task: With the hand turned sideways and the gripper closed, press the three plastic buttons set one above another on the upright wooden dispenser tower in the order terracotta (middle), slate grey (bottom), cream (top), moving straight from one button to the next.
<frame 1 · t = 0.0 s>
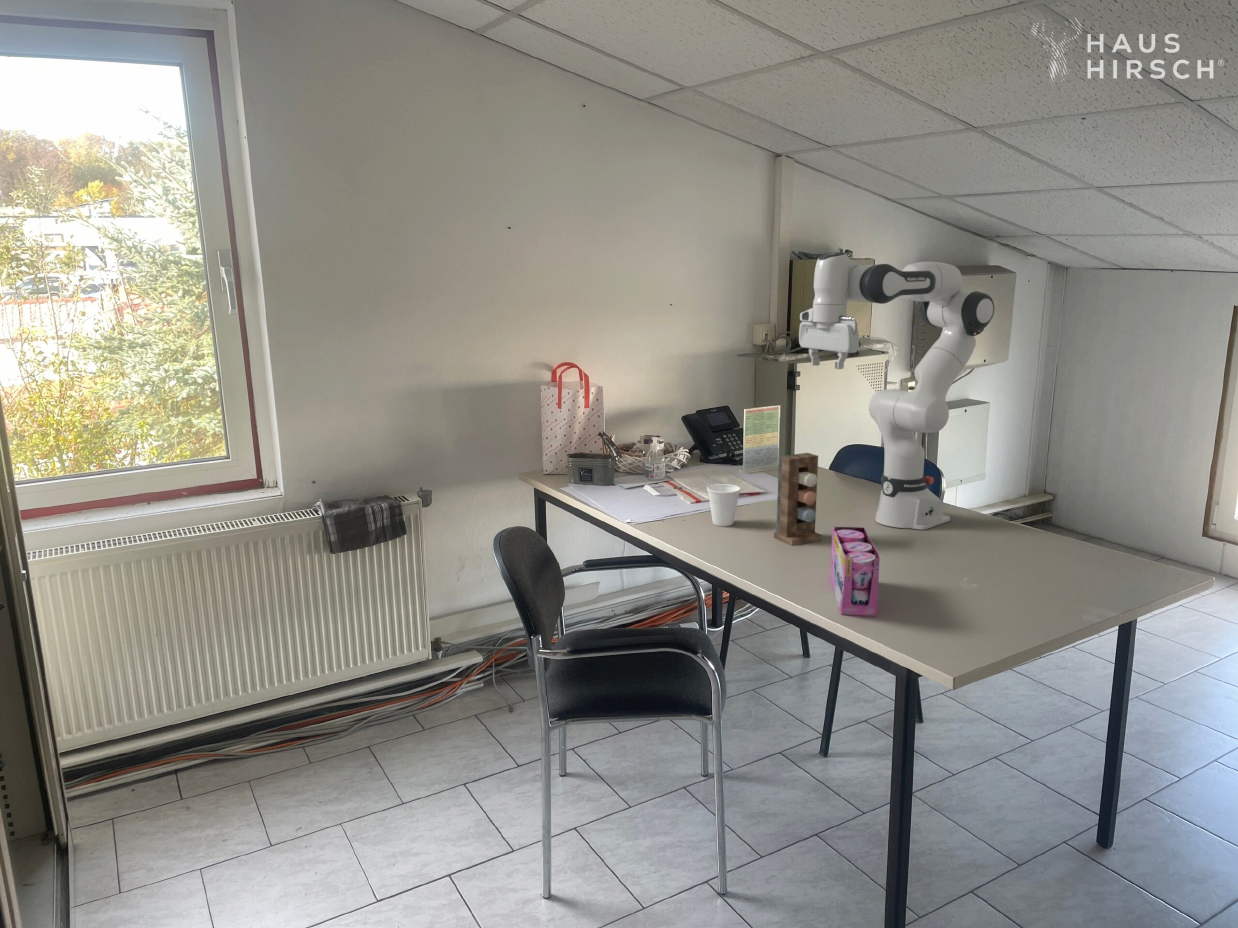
hand: (827, 367, 232), 48 cm above the table, tool pointing down, fingers open, 8 cm apart
cup: (723, 524, 256), on the table
wooden dispenser tower: (797, 538, 242), on the table
terracotta button: (806, 496, 236), point 13 cm above the table, slide at 0.0 cm
cream button: (806, 478, 235), point 18 cm above the table, slide at 0.0 cm
gum box: (852, 597, 200), on the table
slate button: (805, 514, 237), point 8 cm above the table, slide at 0.0 cm
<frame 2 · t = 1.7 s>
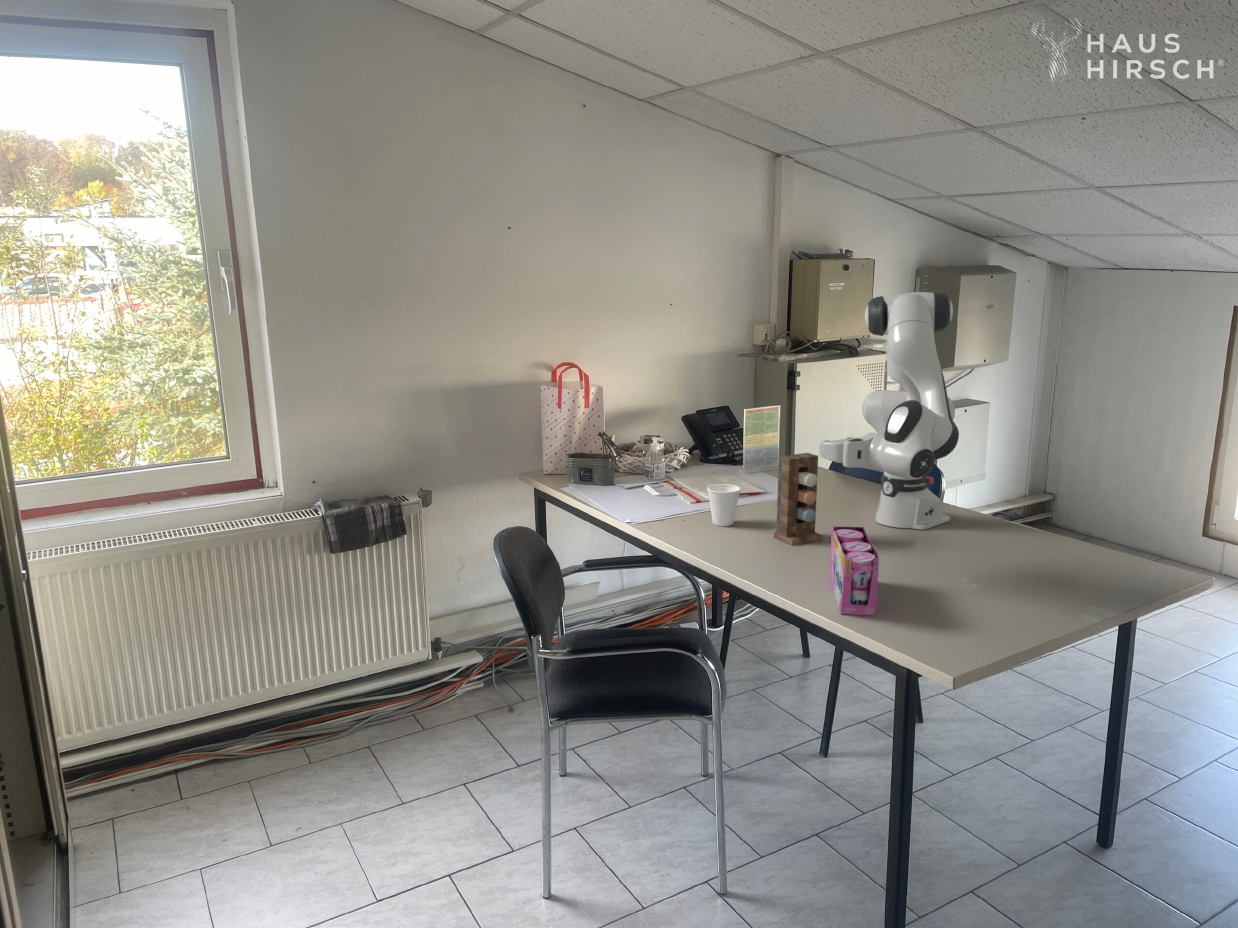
hand: (836, 441, 223), 30 cm above the table, tool horizontal, fingers open, 7 cm apart
nothing on the table moved.
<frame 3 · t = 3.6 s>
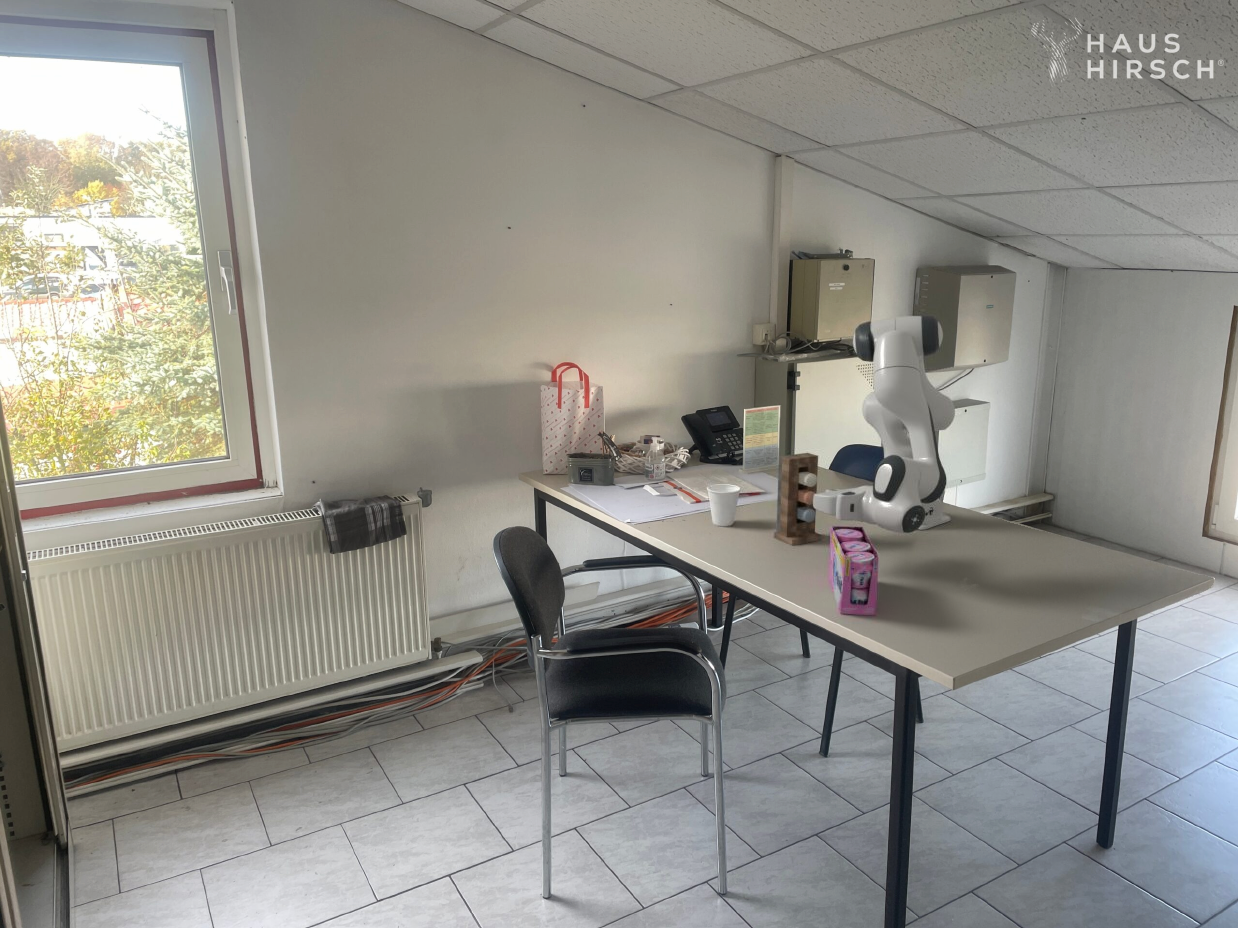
hand: (829, 491, 227), 16 cm above the table, tool horizontal, fingers closed
nothing on the table moved.
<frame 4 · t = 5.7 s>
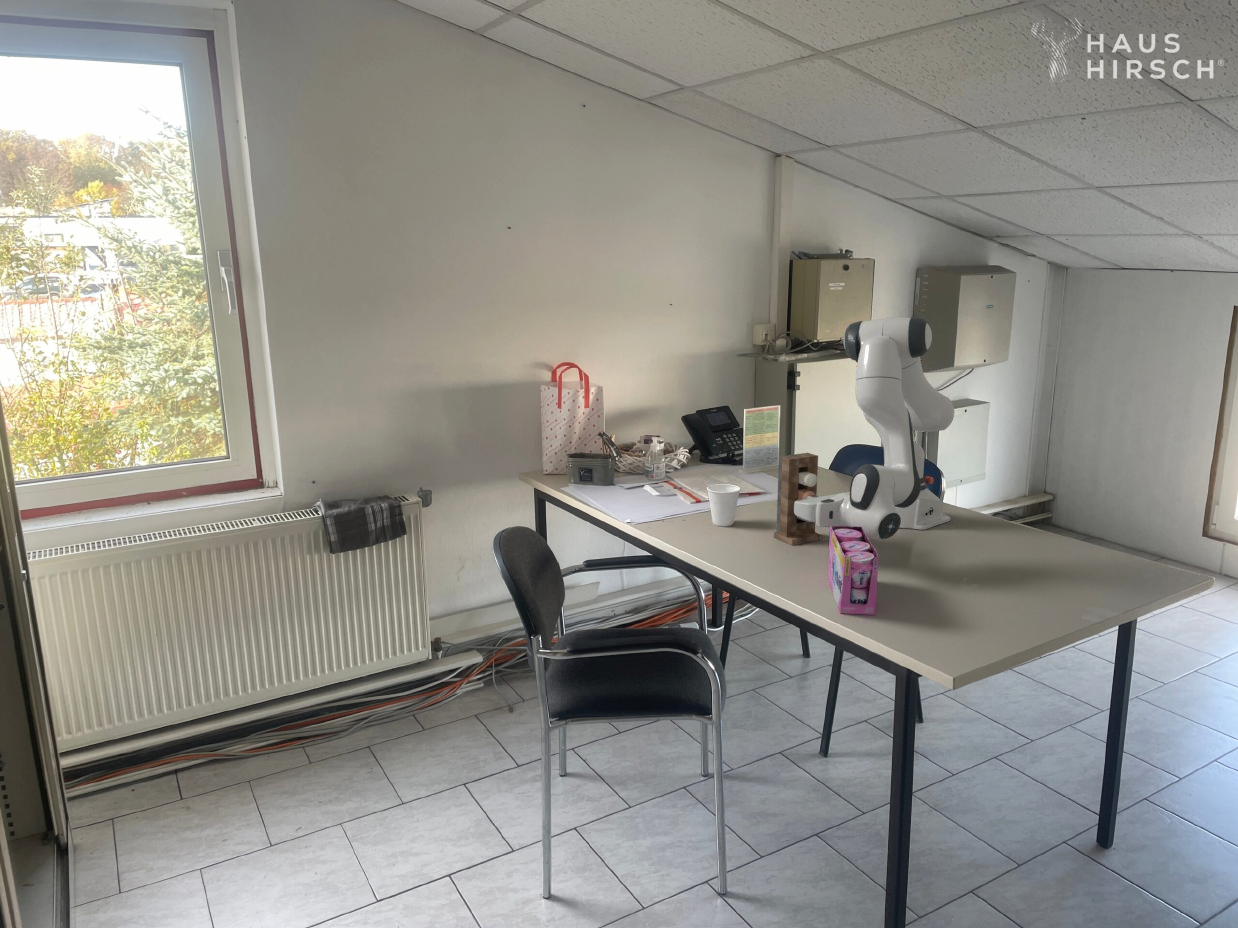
hand: (810, 498, 235), 13 cm above the table, tool horizontal, fingers closed, pressing on terracotta button
terracotta button: (805, 496, 236), point 13 cm above the table, slide at 0.4 cm, touching gripper
everything else where it was.
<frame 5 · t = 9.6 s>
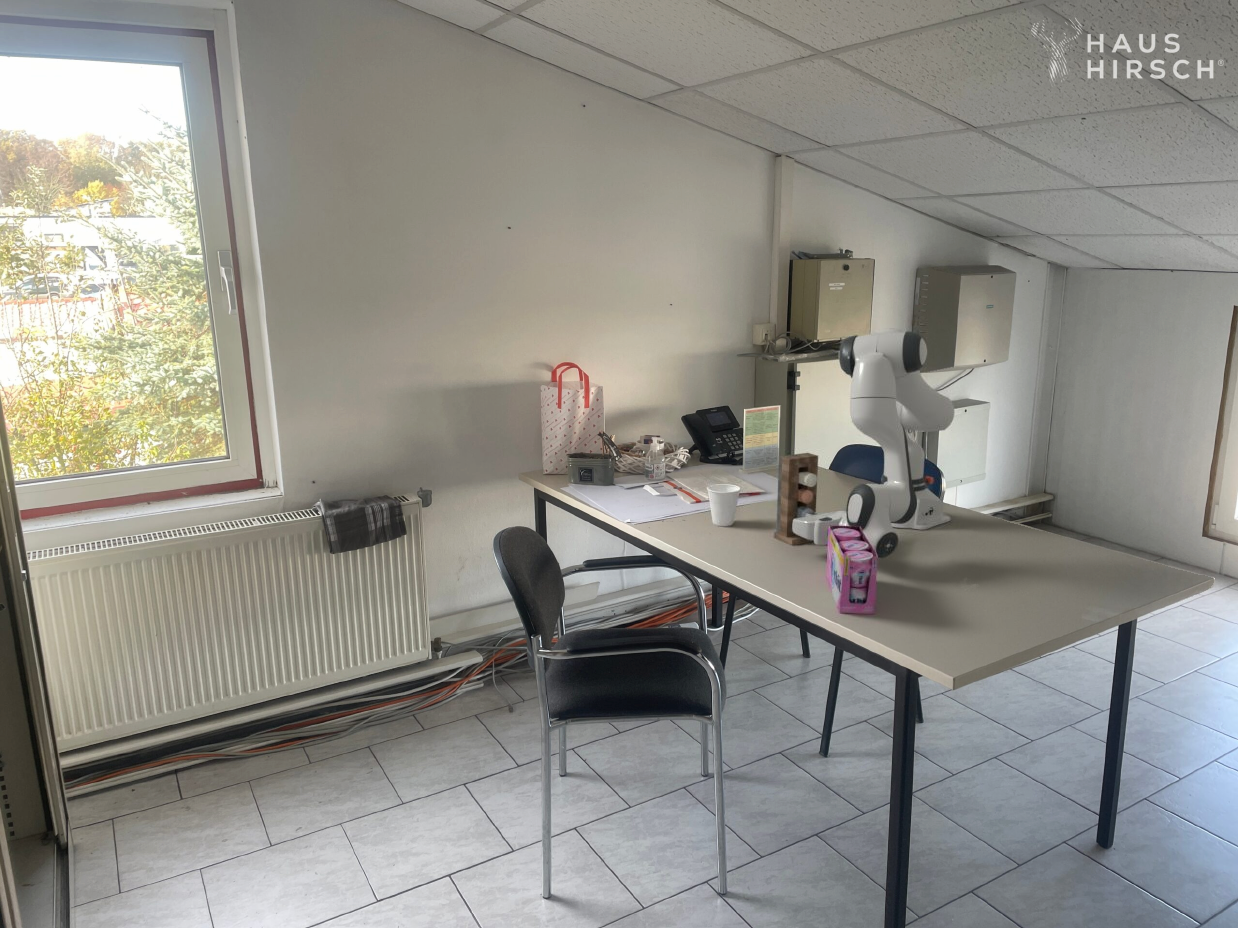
hand: (809, 515, 236), 8 cm above the table, tool horizontal, fingers closed, pressing on slate button
terracotta button: (803, 495, 237), point 13 cm above the table, slide at 1.4 cm
slate button: (803, 513, 238), point 8 cm above the table, slide at 0.7 cm, touching gripper
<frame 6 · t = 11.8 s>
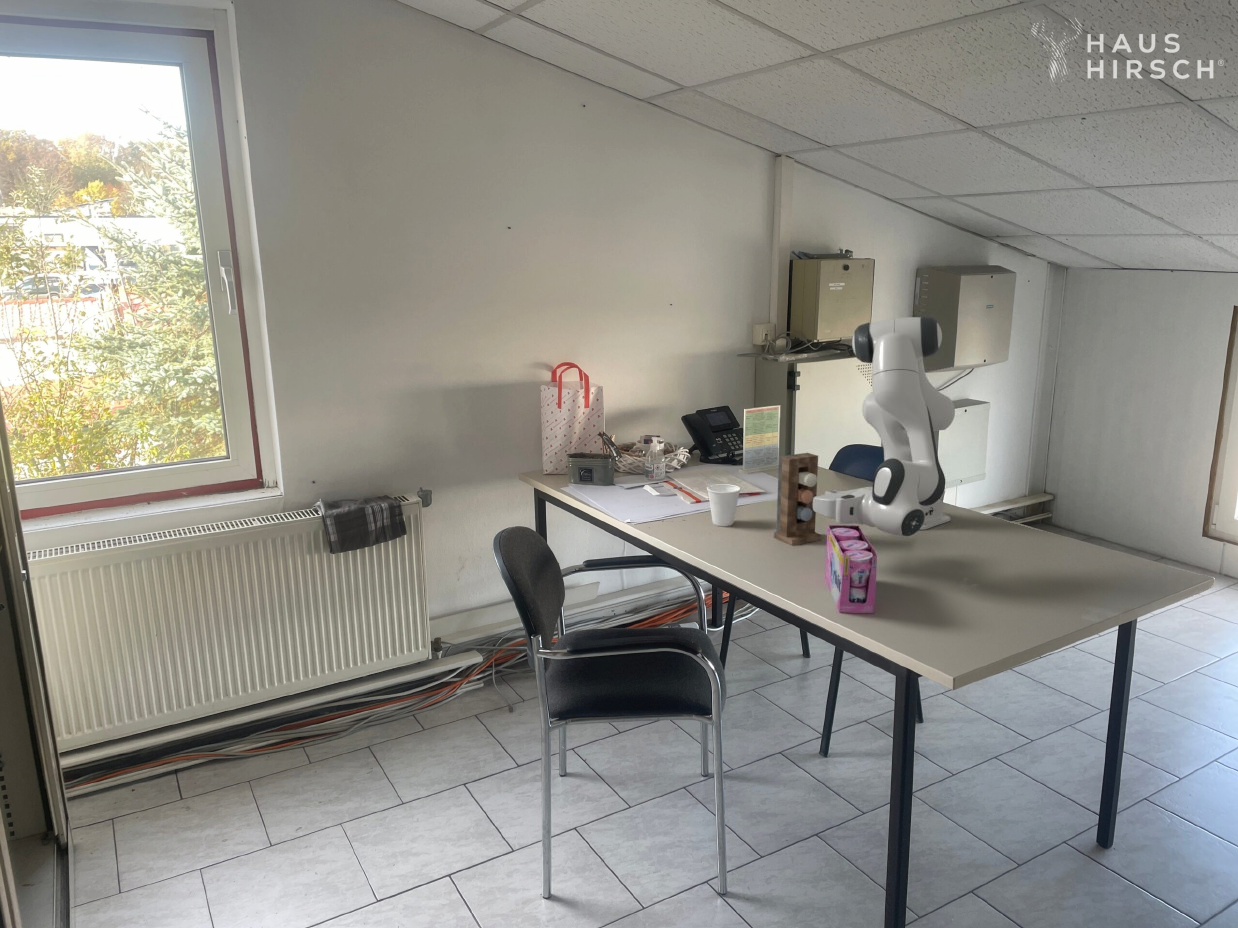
hand: (829, 493, 228), 16 cm above the table, tool horizontal, fingers closed
slate button: (802, 512, 238), point 8 cm above the table, slide at 1.4 cm
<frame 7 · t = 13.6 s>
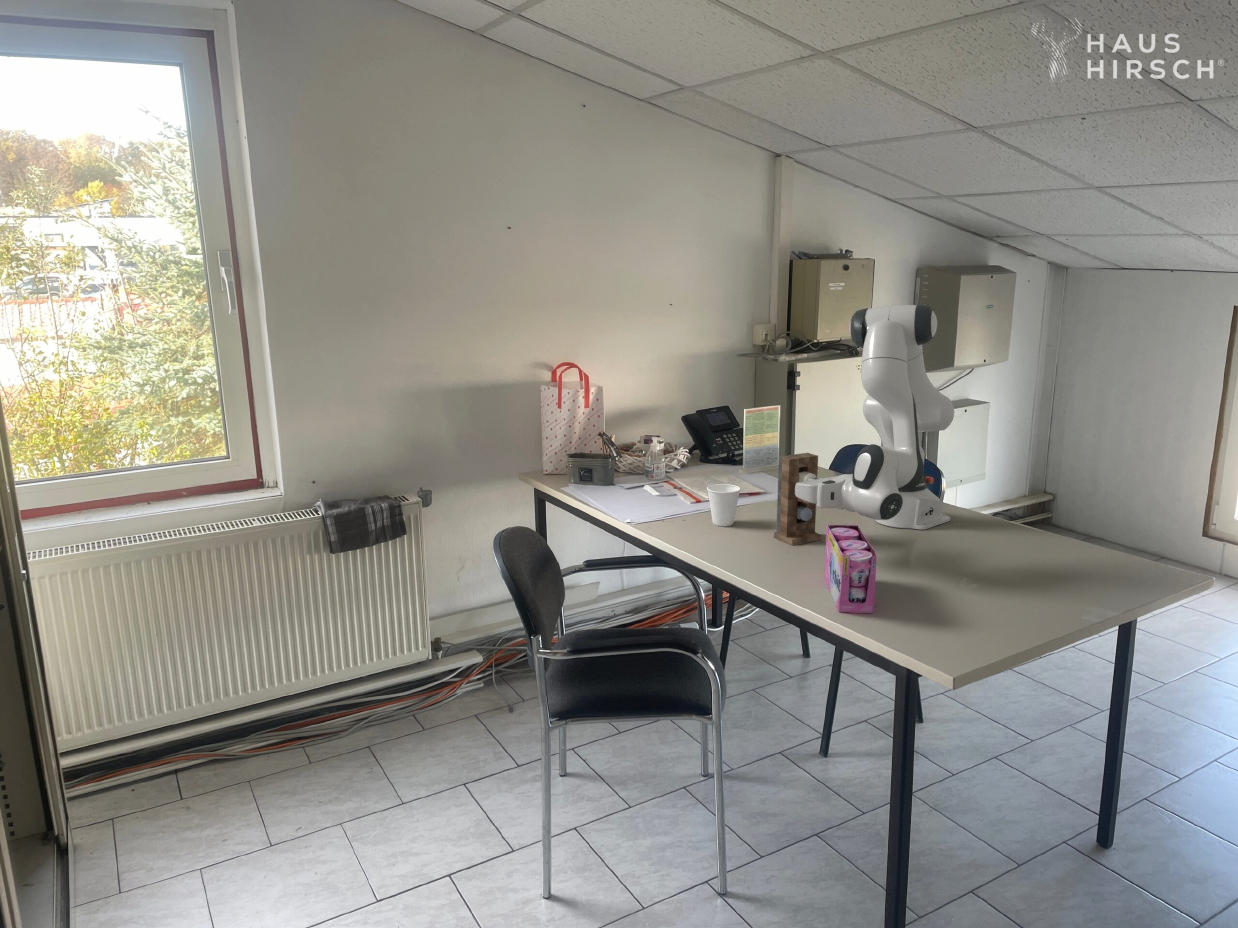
hand: (811, 480, 233), 18 cm above the table, tool horizontal, fingers closed, pressing on cream button
cream button: (806, 478, 235), point 18 cm above the table, slide at 0.2 cm, touching gripper
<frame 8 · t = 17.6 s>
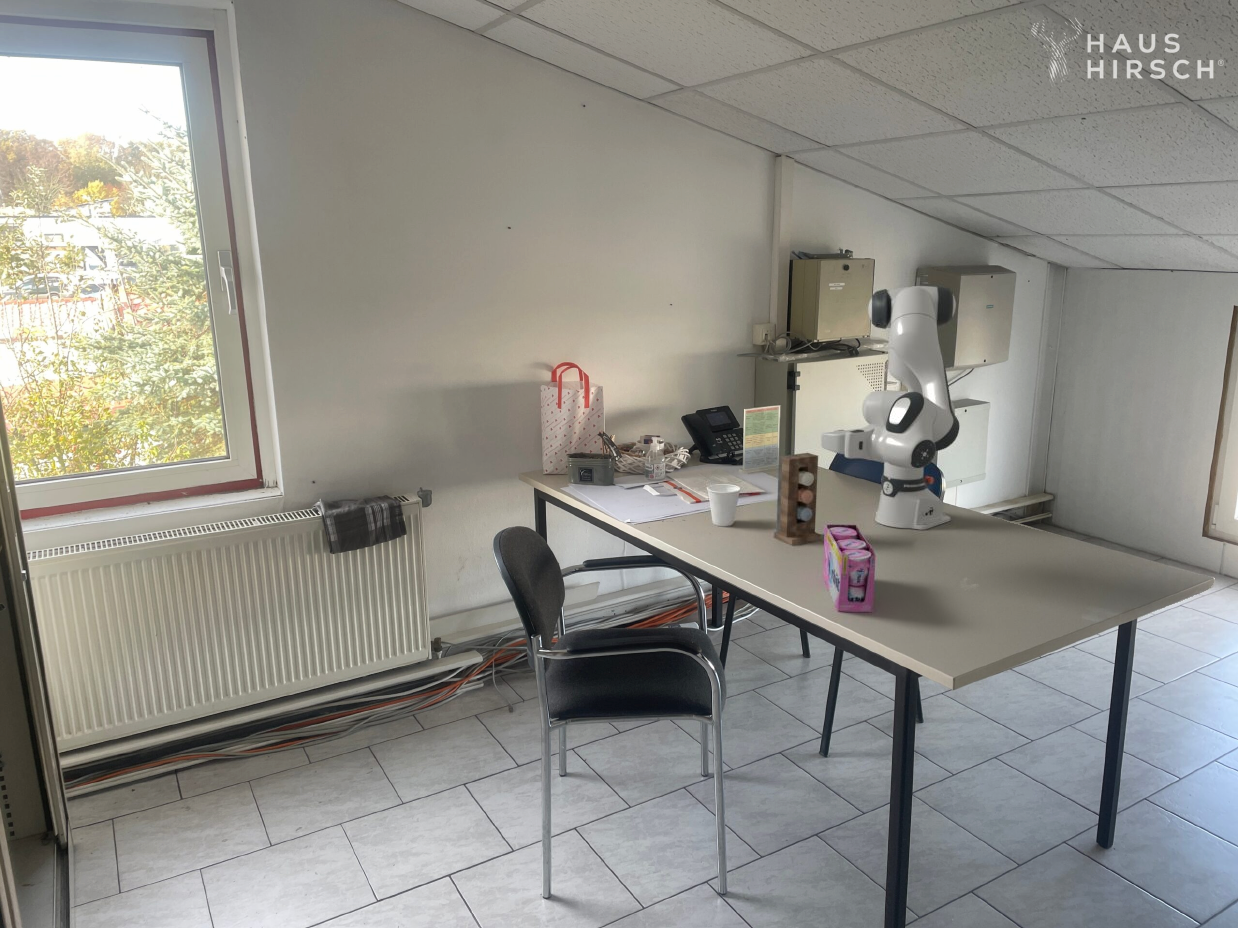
hand: (837, 433, 225), 32 cm above the table, tool horizontal, fingers closed
cream button: (803, 477, 236), point 18 cm above the table, slide at 1.4 cm
at the end: terracotta button slide at 1.4 cm; slate button slide at 1.4 cm; cream button slide at 1.4 cm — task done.
